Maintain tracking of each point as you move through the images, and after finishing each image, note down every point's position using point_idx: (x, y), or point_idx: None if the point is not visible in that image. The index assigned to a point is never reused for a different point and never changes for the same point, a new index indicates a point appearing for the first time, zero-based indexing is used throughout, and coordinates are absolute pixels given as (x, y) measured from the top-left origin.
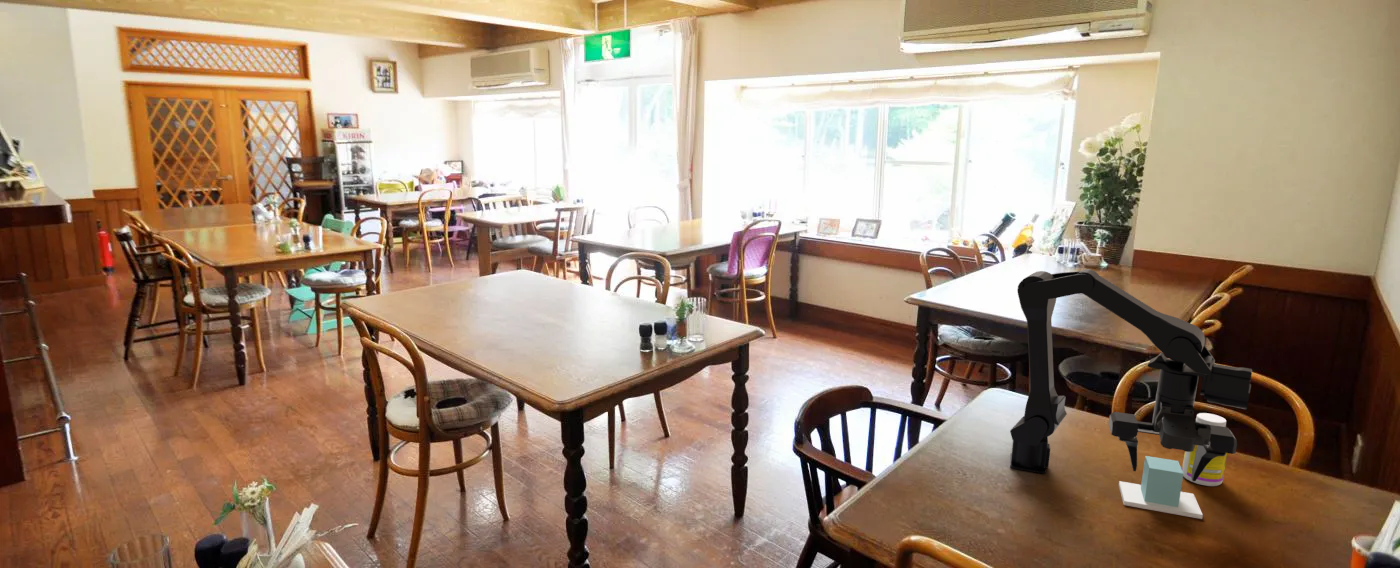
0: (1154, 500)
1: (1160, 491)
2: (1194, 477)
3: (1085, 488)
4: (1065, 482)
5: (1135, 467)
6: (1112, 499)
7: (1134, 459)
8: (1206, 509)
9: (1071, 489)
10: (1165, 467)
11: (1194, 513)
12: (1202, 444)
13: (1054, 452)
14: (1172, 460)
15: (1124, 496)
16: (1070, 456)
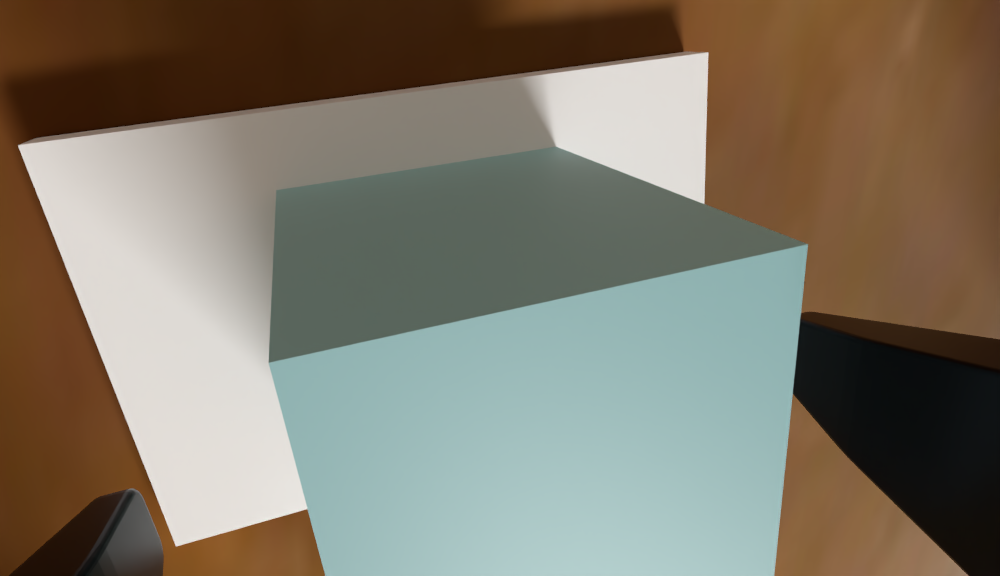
0: (487, 165)
1: (482, 189)
2: (99, 523)
3: (884, 191)
4: (977, 207)
5: (839, 328)
6: (748, 111)
7: (985, 355)
8: (36, 380)
9: (969, 118)
10: (570, 421)
11: (108, 136)
12: None
13: (937, 554)
14: None
15: (696, 145)
16: (874, 566)
